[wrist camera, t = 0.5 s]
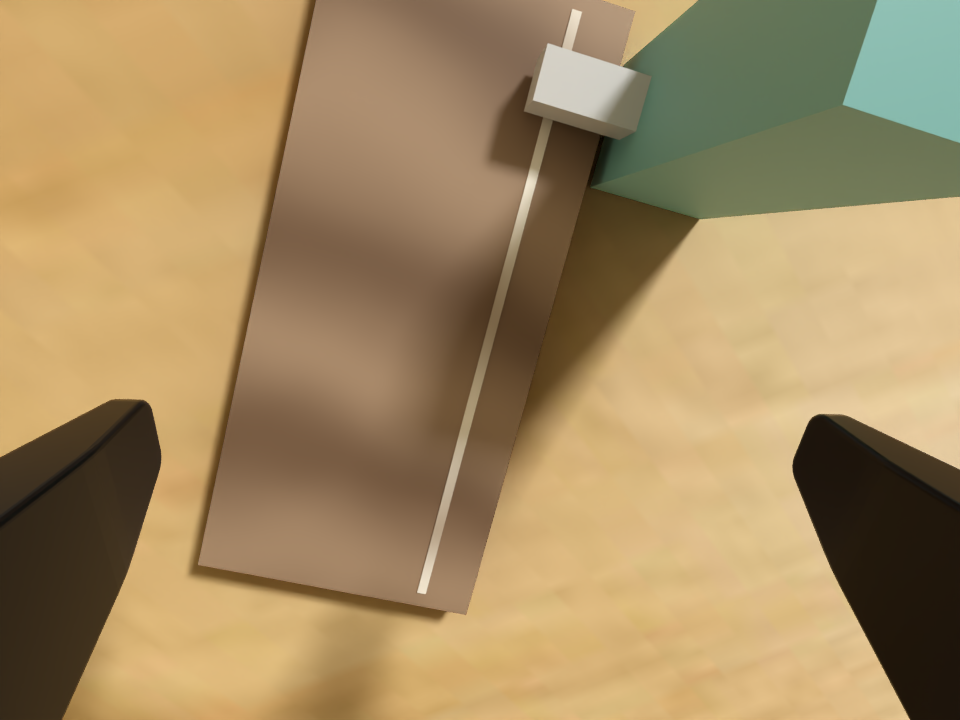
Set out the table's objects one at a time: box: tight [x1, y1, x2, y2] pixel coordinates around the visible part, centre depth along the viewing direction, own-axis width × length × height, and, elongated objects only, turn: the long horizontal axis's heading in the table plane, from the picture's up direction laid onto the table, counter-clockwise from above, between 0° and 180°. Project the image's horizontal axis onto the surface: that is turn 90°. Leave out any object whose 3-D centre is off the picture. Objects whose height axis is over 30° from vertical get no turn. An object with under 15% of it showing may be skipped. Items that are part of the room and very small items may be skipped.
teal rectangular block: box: [524, 0, 960, 219], centre depth 15 cm, size 4×7×13 cm, turn 75°
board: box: [198, 0, 635, 615], centre depth 21 cm, size 20×9×2 cm, turn 165°
